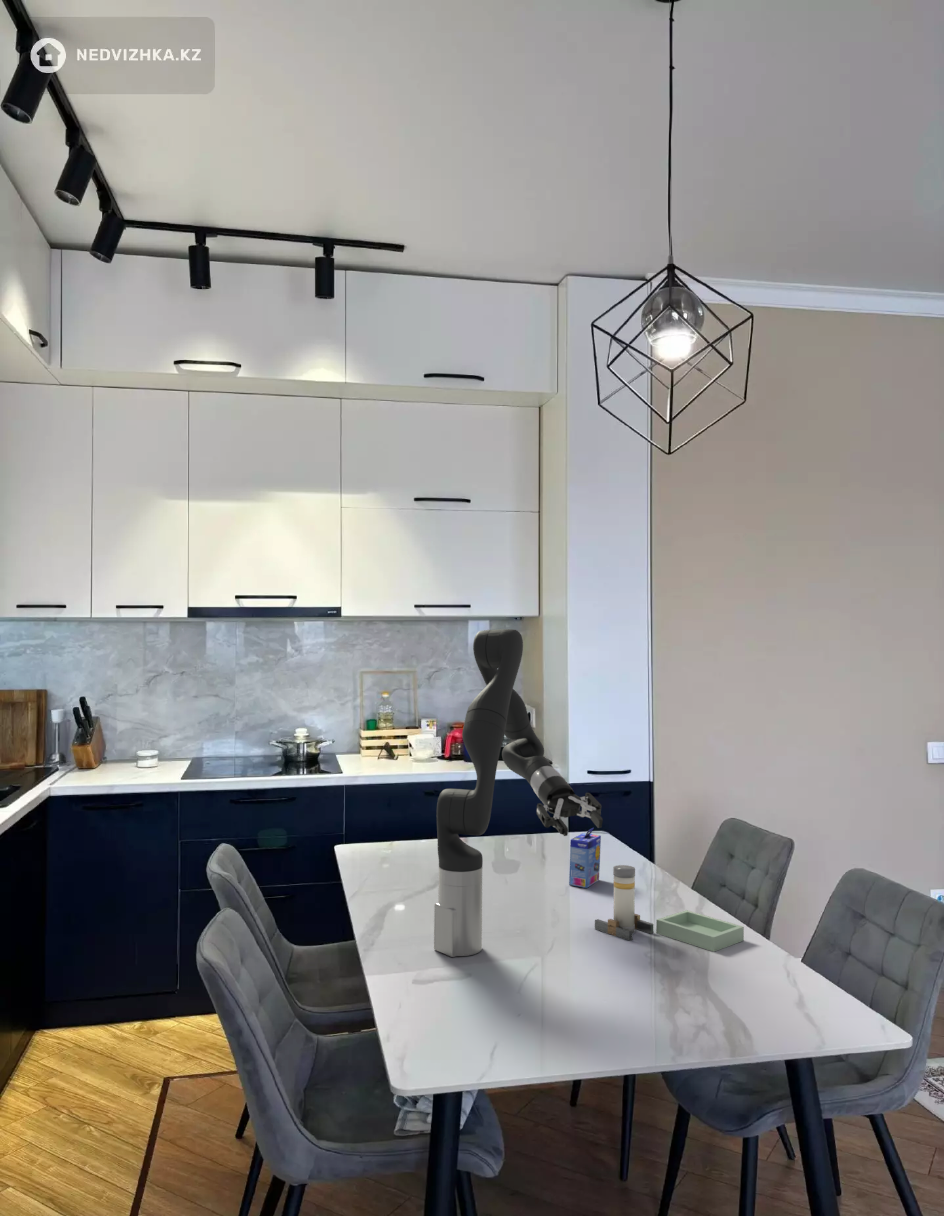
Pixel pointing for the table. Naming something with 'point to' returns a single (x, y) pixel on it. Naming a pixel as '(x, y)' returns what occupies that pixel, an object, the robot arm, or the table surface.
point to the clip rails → (616, 930)
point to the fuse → (624, 896)
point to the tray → (700, 930)
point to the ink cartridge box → (584, 859)
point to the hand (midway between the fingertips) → (583, 828)
